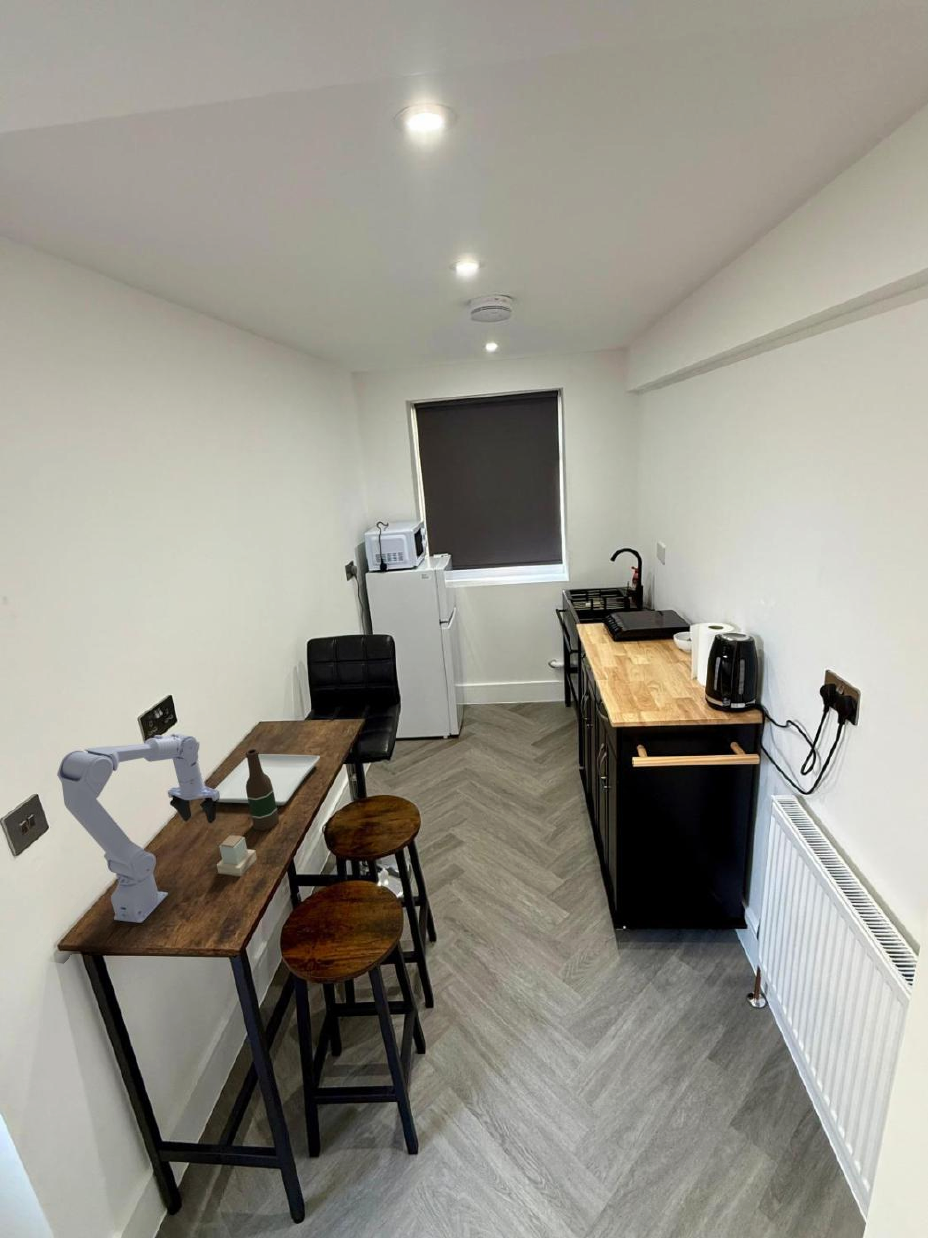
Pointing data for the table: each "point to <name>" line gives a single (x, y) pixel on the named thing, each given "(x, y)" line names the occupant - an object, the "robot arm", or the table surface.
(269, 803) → the beer bottle
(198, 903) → the table surface
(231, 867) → the base block
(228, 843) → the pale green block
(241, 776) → the square plate
